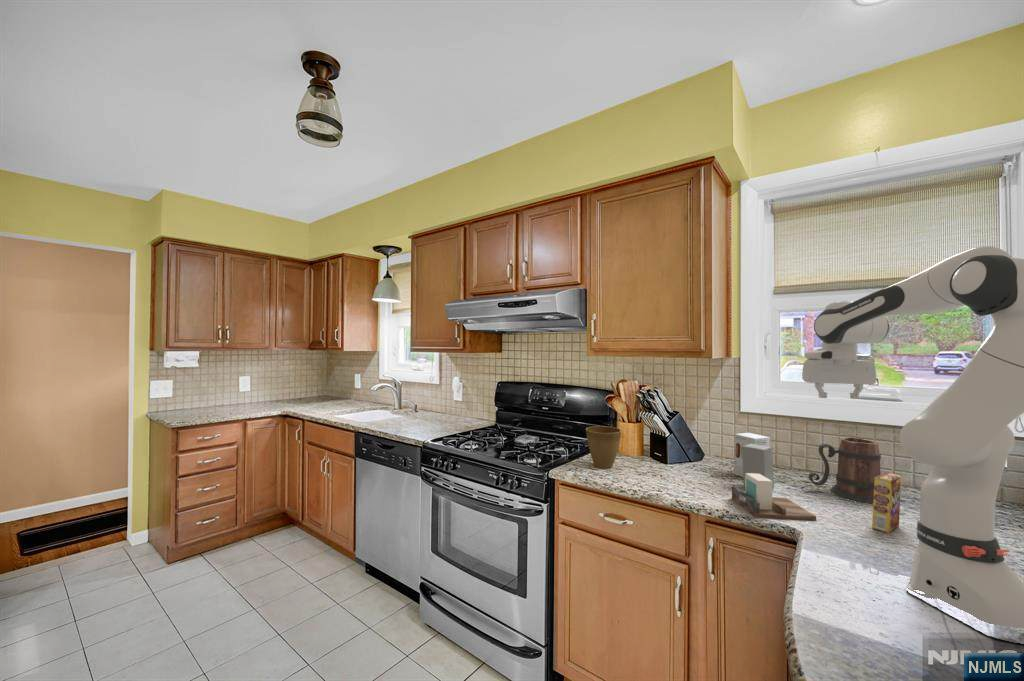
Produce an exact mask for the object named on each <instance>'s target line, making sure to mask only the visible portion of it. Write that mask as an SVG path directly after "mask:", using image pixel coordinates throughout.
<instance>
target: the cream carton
mask: <svg viewBox="0 0 1024 681" xmlns="http://www.w3.org/2000/svg"><path fill="white" fill-rule="evenodd" d="M772 483H773V481H771V480H769V479H768V478H766V477H764V476H762V475H761V474H754V473H746V474H745V488H744V493H746V494H747V495H749V496H750V497H751V498H753V499H754V500H755V501H757V502H758V503H760V509H764V510H772V497H773V490H772Z"/></svg>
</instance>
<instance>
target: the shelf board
mask: <svg viewBox="0 0 1024 681" xmlns="http://www.w3.org/2000/svg"><path fill="white" fill-rule="evenodd" d="M731 500H733V501H734V502H735V503H737V505H738V506H740V507H741V508H743V509H744V510H745V511H746V512H747V513H749V514H750V515H752V516H753V517H754V518H759V519H776V520H777V519H779V520H799V521H800V520H801V521H817V516H816V515H815V514H813V513H811V512H810V511H808V510H806V509H805V508H803V507H801V505H799V504H797V503H795V502H794V501H792V500H791V499H789V498H787V497H777V496H776V497H774V496H772V510H764V509H760V503H758V502H757V501H755V500H754V499H753V498H751V497H750V496H749V495H747V494H746V493H745V491H743V490H741V489H740V488H739V487H737V485H732V486H731Z"/></svg>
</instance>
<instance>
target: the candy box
mask: <svg viewBox="0 0 1024 681" xmlns="http://www.w3.org/2000/svg"><path fill="white" fill-rule="evenodd" d="M901 486H902V476H901V475H898V474H893V473H888V472H884V473H882V474H881V475H878V476H875V479H874V498H873V504H872V517H871V518H872V519H871V520H872V521H871V528H872V529H874V530H879V531H880V532H885V533H888V534H889V533H890V532H892V531H893V530H895V529H897V528H899V527H900V515H901V514H900V511H901V491H902V490H901Z"/></svg>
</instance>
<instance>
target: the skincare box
mask: <svg viewBox="0 0 1024 681" xmlns="http://www.w3.org/2000/svg"><path fill="white" fill-rule="evenodd" d="M742 455H743V477H742V479H743V487H744V486H745V474H746V473H754V474H761V475H762V476H764V477H766V478H768V479H769V480H771V481H773V483H772V491H773V490H774V489H775V480H774V479H775V478H774V463H773V462H774V460H773V447H771V446H770V447H767V446H761V445H756V444H748V445H744V446H742Z"/></svg>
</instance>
